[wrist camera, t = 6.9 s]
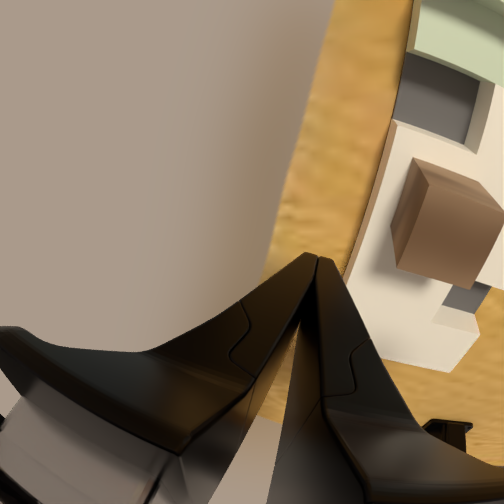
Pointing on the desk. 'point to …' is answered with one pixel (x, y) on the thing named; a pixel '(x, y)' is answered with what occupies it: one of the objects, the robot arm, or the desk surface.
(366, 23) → the desk surface
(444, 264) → the walnut block
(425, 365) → the board
